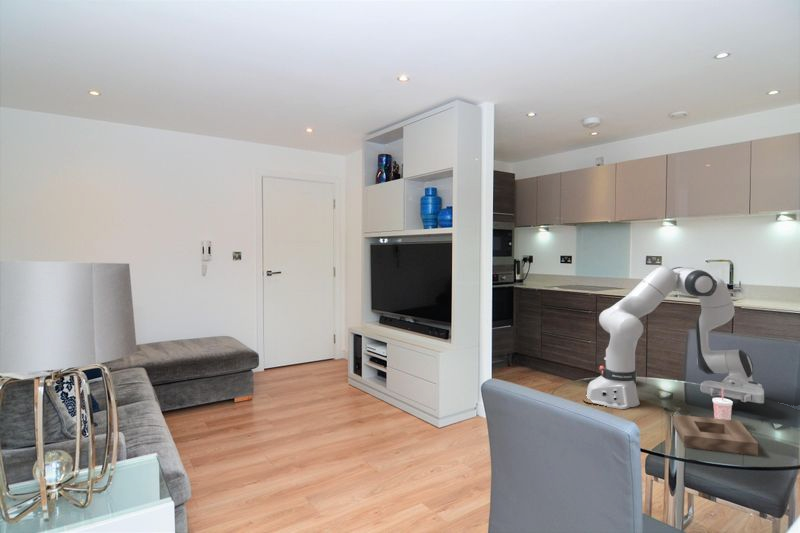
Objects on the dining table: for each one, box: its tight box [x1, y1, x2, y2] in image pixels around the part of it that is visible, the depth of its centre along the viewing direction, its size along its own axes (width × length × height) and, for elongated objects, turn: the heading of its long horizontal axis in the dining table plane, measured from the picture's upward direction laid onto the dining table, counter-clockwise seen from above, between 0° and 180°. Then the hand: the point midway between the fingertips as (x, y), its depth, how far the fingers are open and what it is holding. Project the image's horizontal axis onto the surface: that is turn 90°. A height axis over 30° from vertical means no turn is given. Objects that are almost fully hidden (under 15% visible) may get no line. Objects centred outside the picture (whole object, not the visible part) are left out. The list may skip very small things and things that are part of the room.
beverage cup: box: [712, 387, 734, 420], centre depth 162 cm, size 6×6×14 cm
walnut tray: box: [672, 414, 759, 457], centre depth 151 cm, size 20×18×4 cm
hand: (727, 396), depth 169 cm, fingers open, 8 cm apart
